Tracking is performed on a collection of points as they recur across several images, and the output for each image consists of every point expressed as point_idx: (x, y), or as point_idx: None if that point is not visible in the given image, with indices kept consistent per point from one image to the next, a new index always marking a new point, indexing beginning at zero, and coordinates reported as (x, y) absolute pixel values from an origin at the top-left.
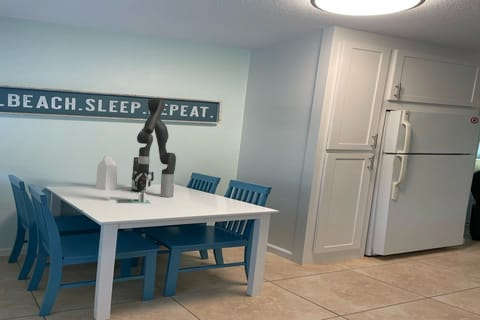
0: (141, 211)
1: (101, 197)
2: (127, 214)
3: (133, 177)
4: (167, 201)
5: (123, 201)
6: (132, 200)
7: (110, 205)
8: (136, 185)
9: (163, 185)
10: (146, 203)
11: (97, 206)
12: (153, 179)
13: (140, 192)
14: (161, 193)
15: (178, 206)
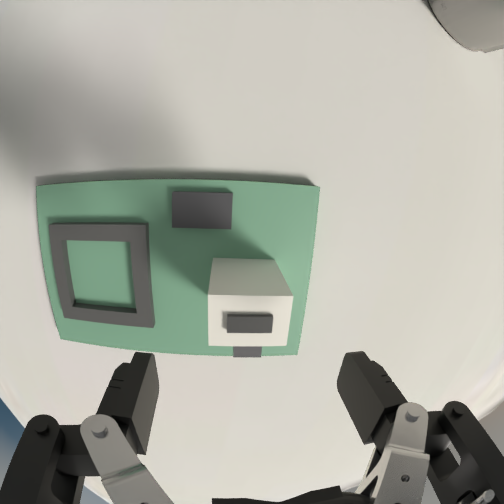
0: (206, 468)
1: (5, 52)
2: None
3: (68, 495)
4: (448, 196)
5: (90, 320)
6: (162, 218)
7: (43, 348)
8: (154, 402)
9: (495, 2)
10: (265, 355)
11: (9, 361)
12: (440, 451)
13: (227, 317)
14: (446, 5)
15: (426, 363)
